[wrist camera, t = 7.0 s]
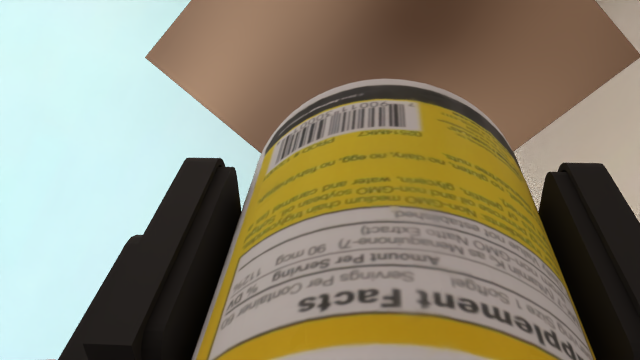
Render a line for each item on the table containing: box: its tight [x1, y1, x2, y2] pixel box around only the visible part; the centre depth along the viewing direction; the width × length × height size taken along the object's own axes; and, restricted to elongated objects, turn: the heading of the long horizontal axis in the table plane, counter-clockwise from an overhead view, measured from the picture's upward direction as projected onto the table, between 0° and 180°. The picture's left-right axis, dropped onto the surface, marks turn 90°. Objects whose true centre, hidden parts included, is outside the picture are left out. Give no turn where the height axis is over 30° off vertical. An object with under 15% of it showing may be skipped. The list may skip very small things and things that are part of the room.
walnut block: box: [145, 0, 640, 153], centre depth 20 cm, size 10×10×6 cm
